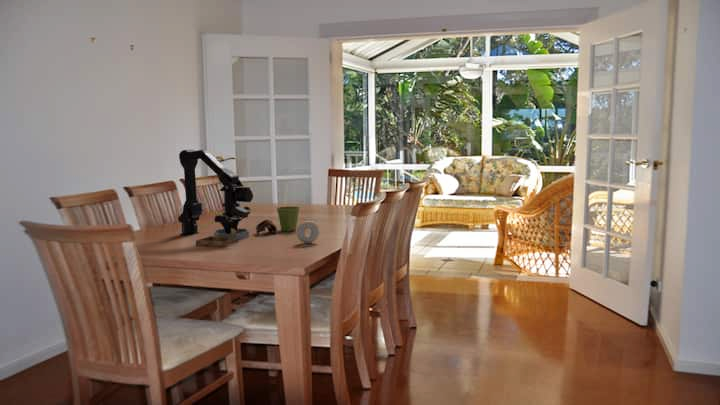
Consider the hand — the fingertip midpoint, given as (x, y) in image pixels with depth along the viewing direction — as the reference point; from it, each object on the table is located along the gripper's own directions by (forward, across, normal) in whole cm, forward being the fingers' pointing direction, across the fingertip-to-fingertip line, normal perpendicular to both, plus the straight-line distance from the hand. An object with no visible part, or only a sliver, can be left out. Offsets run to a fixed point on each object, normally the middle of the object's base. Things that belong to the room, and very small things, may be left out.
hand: (231, 235), depth 273 cm
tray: (+1, -15, -2) cm, 15 cm away
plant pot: (+2, +28, -15) cm, 32 cm away
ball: (+1, 0, 0) cm, 1 cm away
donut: (+2, 0, -38) cm, 38 cm away
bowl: (+1, 0, 0) cm, 1 cm away
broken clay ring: (+2, +14, -11) cm, 18 cm away
